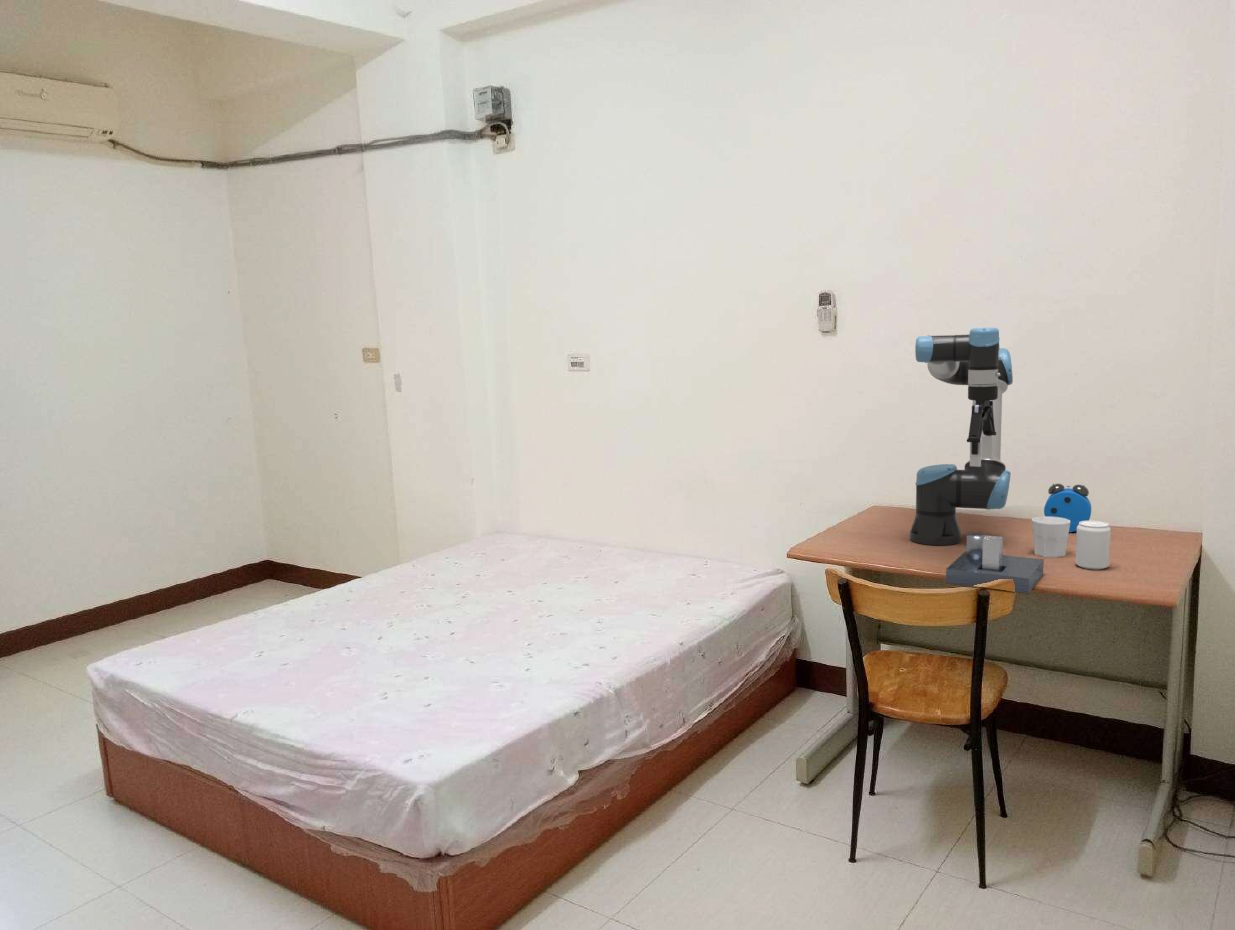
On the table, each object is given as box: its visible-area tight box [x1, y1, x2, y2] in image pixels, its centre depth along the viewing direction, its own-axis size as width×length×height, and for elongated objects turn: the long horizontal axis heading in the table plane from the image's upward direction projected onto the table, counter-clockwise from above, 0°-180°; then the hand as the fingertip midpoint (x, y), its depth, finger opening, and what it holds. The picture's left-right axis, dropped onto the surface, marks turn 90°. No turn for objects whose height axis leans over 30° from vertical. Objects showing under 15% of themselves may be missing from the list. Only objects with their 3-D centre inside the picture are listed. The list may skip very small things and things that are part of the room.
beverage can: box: [1075, 520, 1111, 571], centre depth 245 cm, size 8×8×12 cm
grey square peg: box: [982, 534, 1004, 572], centre depth 234 cm, size 4×4×12 cm
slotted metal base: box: [945, 532, 1045, 595], centre depth 238 cm, size 20×20×10 cm
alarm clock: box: [1043, 483, 1092, 533], centre depth 284 cm, size 13×6×15 cm, turn 61°
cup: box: [1031, 516, 1070, 559], centre depth 259 cm, size 10×10×10 cm
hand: (981, 462), depth 248 cm, fingers open, 13 cm apart
